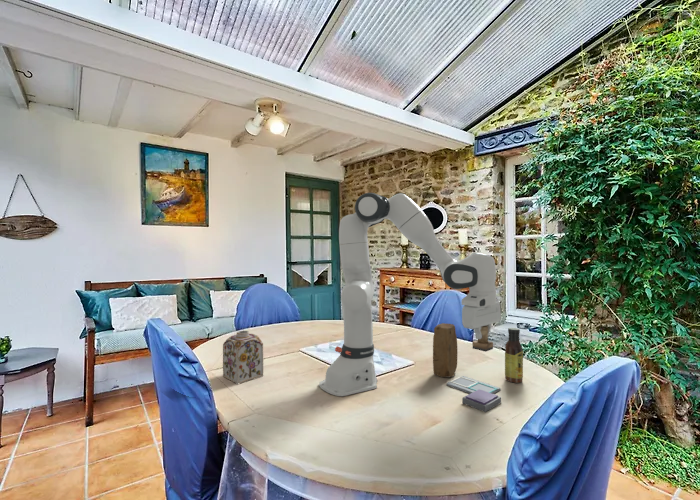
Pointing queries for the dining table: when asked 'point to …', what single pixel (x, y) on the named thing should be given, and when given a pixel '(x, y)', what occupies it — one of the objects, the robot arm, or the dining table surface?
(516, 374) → the sauce bottle
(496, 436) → the dining table surface
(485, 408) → the ink pad
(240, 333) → the decorative jar
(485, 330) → the stamp
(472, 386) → the board
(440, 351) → the block
